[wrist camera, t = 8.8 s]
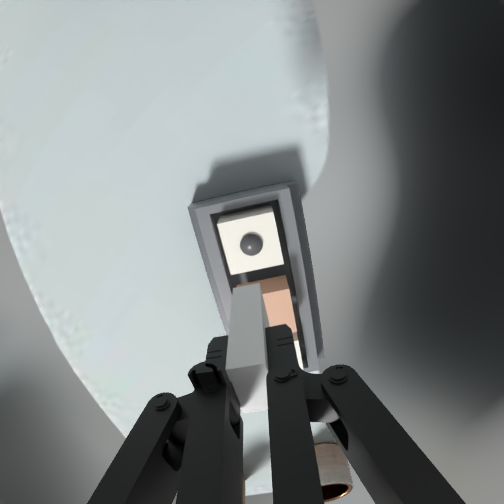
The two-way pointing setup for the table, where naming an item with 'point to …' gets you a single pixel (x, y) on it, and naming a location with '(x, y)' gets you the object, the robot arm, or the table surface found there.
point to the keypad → (295, 267)
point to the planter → (333, 471)
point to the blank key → (277, 301)
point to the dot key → (250, 239)
